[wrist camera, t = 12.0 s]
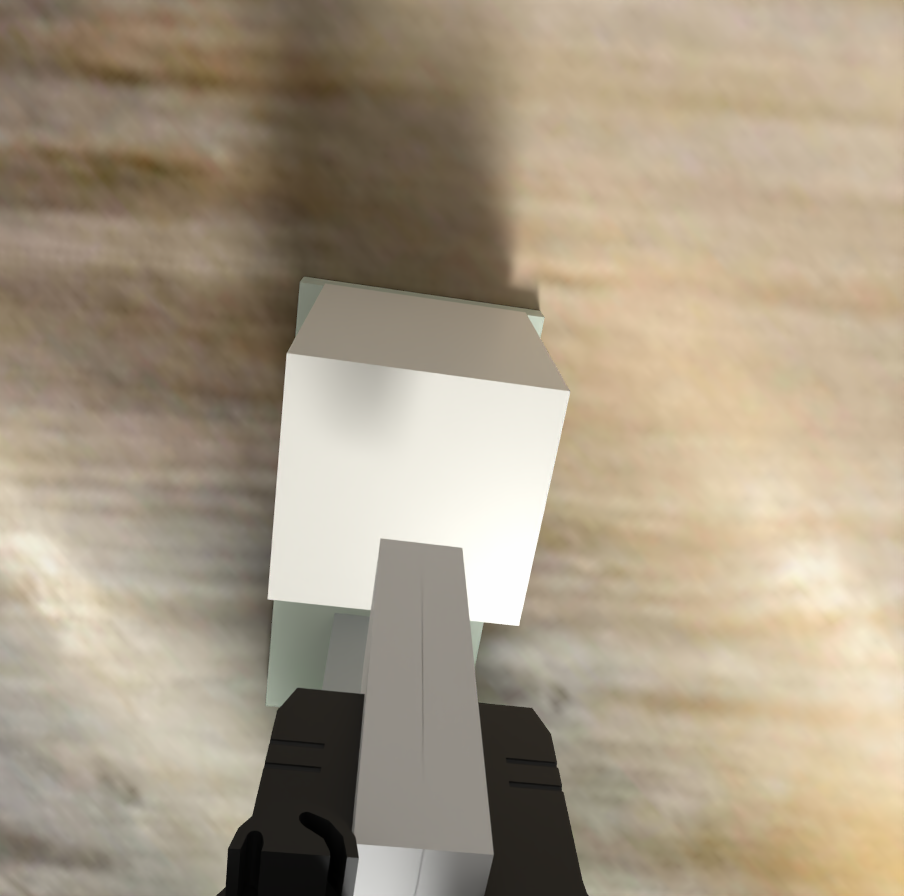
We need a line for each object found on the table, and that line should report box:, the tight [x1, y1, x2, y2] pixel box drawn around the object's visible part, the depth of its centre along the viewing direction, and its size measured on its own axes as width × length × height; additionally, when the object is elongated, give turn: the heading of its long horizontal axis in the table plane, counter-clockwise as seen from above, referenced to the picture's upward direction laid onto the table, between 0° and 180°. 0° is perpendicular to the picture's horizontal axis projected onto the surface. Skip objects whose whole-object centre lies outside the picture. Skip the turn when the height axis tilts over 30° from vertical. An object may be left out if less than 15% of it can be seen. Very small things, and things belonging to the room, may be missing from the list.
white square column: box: [268, 283, 570, 626], centre depth 23 cm, size 6×6×8 cm
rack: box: [265, 277, 545, 707], centre depth 27 cm, size 8×17×6 cm, turn 171°
